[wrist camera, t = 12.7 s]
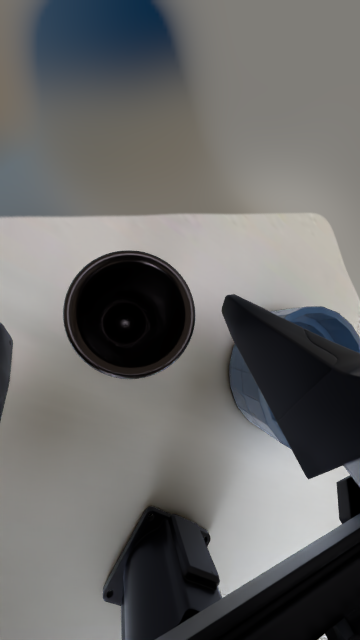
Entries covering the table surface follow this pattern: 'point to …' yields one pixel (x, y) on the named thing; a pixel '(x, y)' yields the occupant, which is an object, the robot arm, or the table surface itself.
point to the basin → (245, 385)
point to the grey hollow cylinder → (129, 314)
